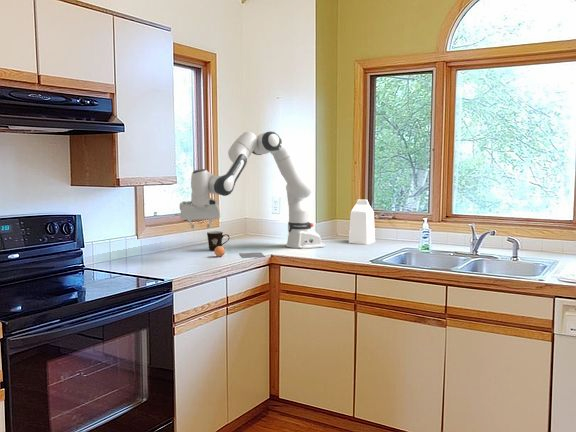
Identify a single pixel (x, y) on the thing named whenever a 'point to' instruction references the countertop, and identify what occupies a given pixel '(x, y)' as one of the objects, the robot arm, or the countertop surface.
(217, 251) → the ball
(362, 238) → the milk
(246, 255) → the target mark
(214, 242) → the coffee mug
